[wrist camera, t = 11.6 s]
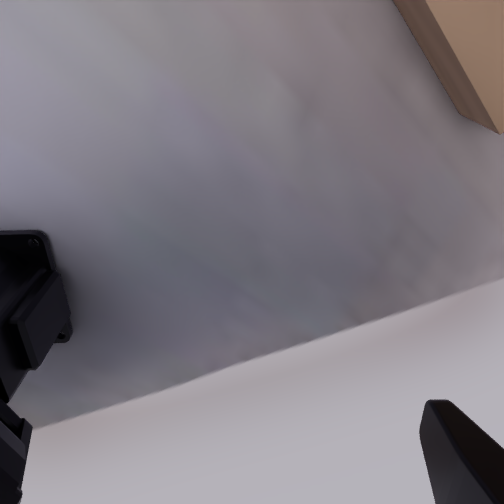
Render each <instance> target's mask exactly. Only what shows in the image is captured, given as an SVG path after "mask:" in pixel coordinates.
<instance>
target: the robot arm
mask: <svg viewBox="0 0 504 504" xmlns="http://www.w3.org/2000/svg"><path fill="white" fill-rule="evenodd" d="M32 239H35V240H37V241H38V243H39V245H38V244H35V243H33V241H32ZM70 314H71V312H70V308H69V305H68V301H67V297H66V294H65V290H64V286H63V283H62V279H61V275H60V274H59V273H58V272H57V271H56V269H55V265H54V261H53V258H52V254H51V251H50V247H49V243H48V240H47V238H46V236H45V235H44V234H43V233H42V232H40V231H36V230H26V231H0V504H20V502H21V498H22V490H21V486H22V481H23V475H24V471H25V465H26V460H27V454H28V449H29V444H30V439H31V433H32V428H33V427H32V425H31V424H30V423H29V422H28V421H27V420H26V419H25V418H20V417H19V416H18V415H17V414H16V413H15V412H14V411H13V410H12V409H11V408H10V407H9V406H8V405H7V403H8V402H9V401H10V399H11V398H12V396H13V395H14V393H15V391H16V390H17V388H18V387H19V385H20V383H21V382H22V380H23V379H24V377H25V375H26V374H27V372H28V370H36V369H37V368H38V367H39V366H40V365H41V363H42V362H43V360H44V358H45V356H46V355H47V353H48V351H49V350H50V348H51V346H52V345H53V343H65V342H67V341H69V339H70V337H71V336H72V334H73V330H72V326H71V323H70V319H69V316H70ZM60 332H62V333H64V334H65V335H64V334H61V333H60ZM419 433H420V440H421V445H422V449H423V454H424V458H425V462H426V466H427V470H428V474H429V478H430V482H431V486H432V491H433V495H434V499H435V503H436V504H504V449H503V448H502V447H501V446H500V445H499V444H498V443H497V442H495V440H493V439H492V438H491V437H490V436H489V435H488V434H487V433H486V432H484V431H483V430H482V429H481V428H480V427H479V426H478V425H477V424H475V423H474V422H473V421H472V420H471V419H470V418H469V417H468V416H467V415H465V414H464V413H463V412H462V411H461V410H460V409H459V408H458V407H457V406H455V405H454V404H453V403H452V402H450V401H449V400H428V401H427V402H426V404H425V407H424V411H423V416H422V420H421V424H420V431H419Z"/></svg>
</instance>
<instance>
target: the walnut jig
mask: <svg viewBox="0 0 504 504" xmlns="http://www.w3.org/2000/svg"><path fill="white" fill-rule="evenodd" d="M393 1H394V3H395V5H396V6H397V8H398V10H399V11H400V13H401V15H402V16H403V18H404V20H405V22H406V23H407V25H408V27H409V28H410V30H411V32H412V34H413V35H414V37H415V39H416V40H417V42H418V44H419V45H420V47H421V49H422V51H423V52H424V54H425V56H426V57H427V59H428V61H429V62H430V64H431V66H432V68H433V69H434V71H435V73H436V74H437V76H438V78H439V80H440V81H441V83H442V85H443V86H444V88H445V90H446V91H447V93H448V95H449V97H450V98H451V100H452V102H453V103H454V105H455V107H456V108H457V110H458V112H459V114H461V115H463V116H465V117H467V118H469V119H471V120H473V121H475V122H476V123H478V124H480V125H482V126H484V127H486V128H488V129H490V130H492V131H494V132H496V133H498V134H502V133H503V132H504V0H393Z"/></svg>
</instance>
